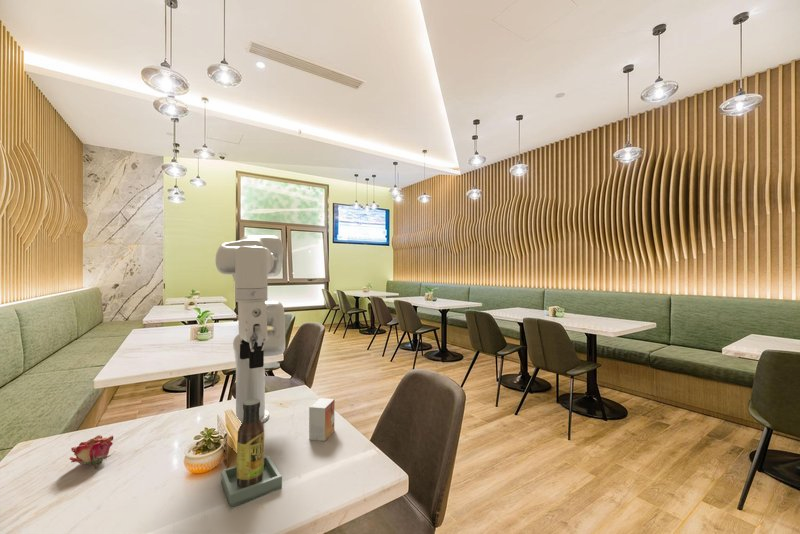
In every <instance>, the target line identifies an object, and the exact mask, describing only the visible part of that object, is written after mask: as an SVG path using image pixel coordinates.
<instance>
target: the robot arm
mask: <svg viewBox="0 0 800 534" xmlns="http://www.w3.org/2000/svg"><path fill="white" fill-rule="evenodd" d="M283 257H284V245H283V241H282V240H281V238H280V237H278V236H276V235H259V234H258V235H256V234H255V235H254V234H251V235H246V236H243V237H241V238H240V239H239V240H236V241H228V242H224V243H222V244H220V245H219V247H218V249H217V251H216V254H215V266H216V269H217V272H219V273H221V274H222V275H231V276H232V278H233V281H234V302H235V303H237V305H238V306H237V312H238V313H237V317H238V319H237V321H238V334H236V336H235V337H234V339H233V343H232V345H233V351H234V352H233V353H234V359H235V414H236V416H237V417H238V419H239V420H240V421H241V423H243V416H244V415H243V413H244V410H243V403H244V402H245V401H247V400H251V399H257V400H260V407H259V416H260V417H259V420H260V421H261V422H262V423H264V422H266V421H267V420H268V419H269V417H270V411H268V410H267V409H265V408H266V407H265V406H266V397H265V396H266V390H265V389H266V385H265V384H266V370H265V367H264V365H265V364H264V361H265V358H266V357H267V358H268V357H277V356H280V355H283V354H284V352H285V351H286V322H285V321H286V320H285V319H286V318H285V309H284V305H283V304H282V303H281V302H280V301H278V300H271V301H270V300H269V301H268V282H269V281H268V280H269V279H268V277H278V276H279V275H280V274H281V271H282V267H283V261H284V259H283ZM268 328H271V329H268Z"/></svg>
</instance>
